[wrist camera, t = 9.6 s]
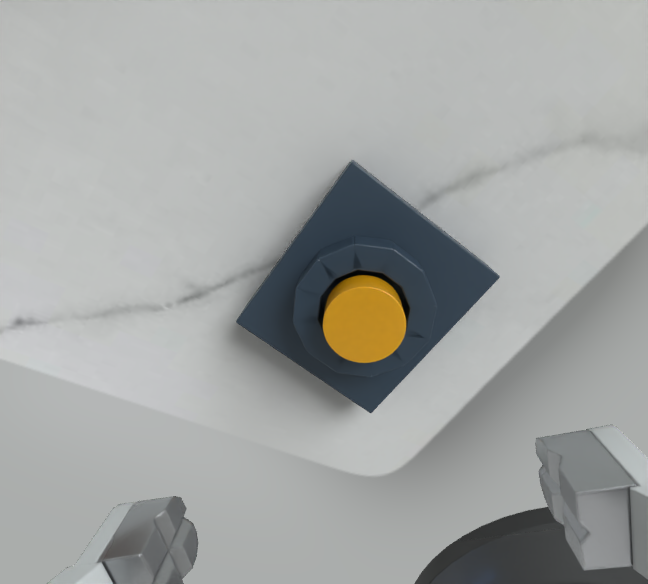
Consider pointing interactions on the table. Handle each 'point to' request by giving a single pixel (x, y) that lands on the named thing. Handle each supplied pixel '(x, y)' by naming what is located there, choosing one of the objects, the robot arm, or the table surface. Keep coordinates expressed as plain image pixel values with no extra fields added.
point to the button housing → (365, 259)
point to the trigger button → (364, 319)
